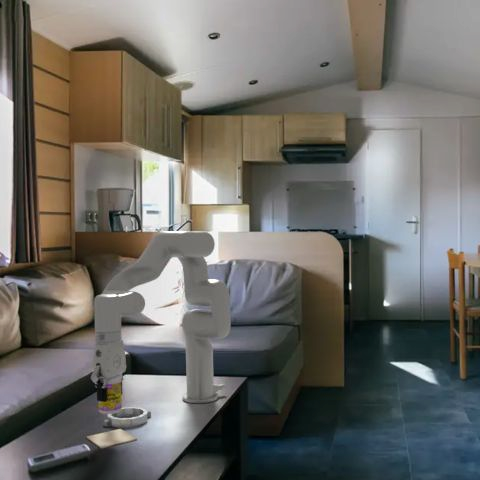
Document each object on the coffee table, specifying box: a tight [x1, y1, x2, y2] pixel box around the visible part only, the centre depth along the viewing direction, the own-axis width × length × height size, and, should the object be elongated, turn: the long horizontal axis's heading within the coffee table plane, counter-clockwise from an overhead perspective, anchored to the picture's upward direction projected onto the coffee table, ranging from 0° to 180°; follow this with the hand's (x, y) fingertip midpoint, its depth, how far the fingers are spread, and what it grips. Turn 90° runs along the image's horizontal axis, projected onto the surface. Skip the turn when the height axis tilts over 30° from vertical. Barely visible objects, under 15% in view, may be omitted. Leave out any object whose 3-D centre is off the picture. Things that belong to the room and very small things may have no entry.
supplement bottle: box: [97, 375, 123, 415], centre depth 185 cm, size 7×7×13 cm
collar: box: [103, 406, 152, 429], centre depth 202 cm, size 15×12×2 cm
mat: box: [85, 428, 138, 449], centre depth 186 cm, size 11×11×1 cm
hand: (110, 397), depth 186 cm, fingers closed on supplement bottle, 6 cm apart
